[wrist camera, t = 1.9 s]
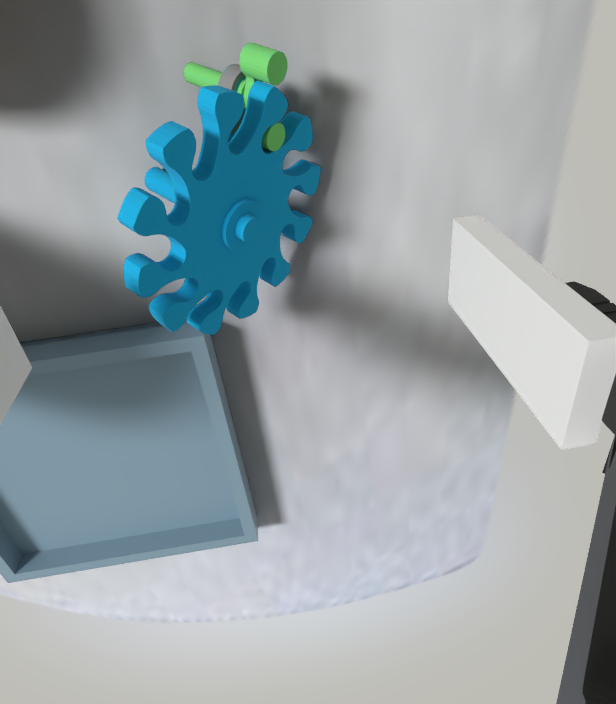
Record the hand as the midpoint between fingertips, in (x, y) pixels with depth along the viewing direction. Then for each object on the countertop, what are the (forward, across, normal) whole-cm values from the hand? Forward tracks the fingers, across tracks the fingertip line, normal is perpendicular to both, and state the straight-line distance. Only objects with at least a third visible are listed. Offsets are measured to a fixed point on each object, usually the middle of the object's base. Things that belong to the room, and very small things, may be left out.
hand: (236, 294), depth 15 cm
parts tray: (+10, -11, -15) cm, 21 cm away
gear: (+10, 0, +1) cm, 10 cm away
